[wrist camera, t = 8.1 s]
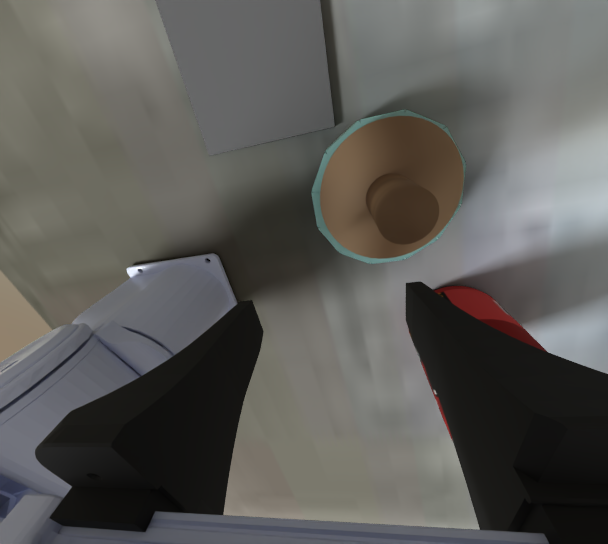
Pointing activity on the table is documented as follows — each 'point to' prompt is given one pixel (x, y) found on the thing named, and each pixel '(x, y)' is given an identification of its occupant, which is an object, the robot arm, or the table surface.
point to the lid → (391, 187)
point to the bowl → (319, 177)
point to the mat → (251, 68)
